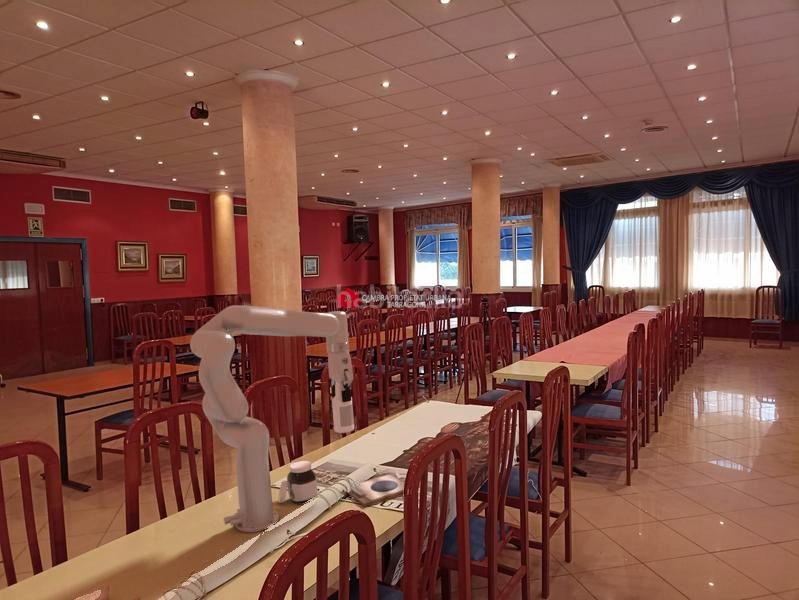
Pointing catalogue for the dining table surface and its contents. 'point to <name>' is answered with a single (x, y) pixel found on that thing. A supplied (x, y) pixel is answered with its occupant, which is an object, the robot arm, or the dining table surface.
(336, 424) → the spray bottle
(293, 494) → the spread jar
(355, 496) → the square pad with disc
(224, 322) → the robot arm
